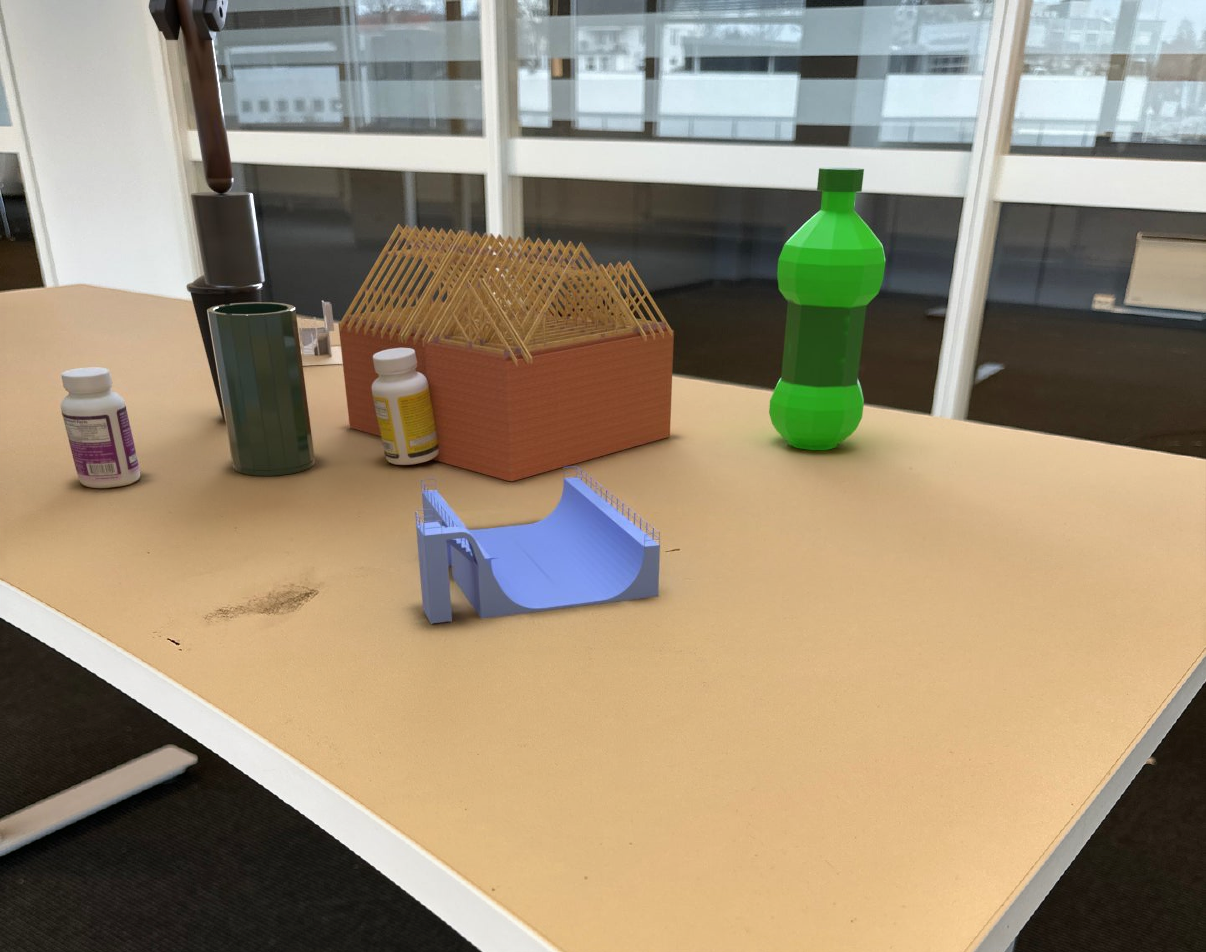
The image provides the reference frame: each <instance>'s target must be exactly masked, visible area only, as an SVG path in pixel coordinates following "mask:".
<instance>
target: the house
mask: <svg viewBox="0 0 1206 952" xmlns="http://www.w3.org/2000/svg"><path fill="white" fill-rule="evenodd" d="M399 233H400V236H399V237H398V239H397V241H396V243H394V241H395V239H396V238H397V236H398V234H399ZM443 238H444V239H443ZM404 239H405V240H406V241H405V242H404V244H403V245H402V243H403V241H404ZM476 241H477V242H476ZM393 243H394V245H393ZM392 245H393V247H392ZM401 245H402V247H401V249H400V250H399V248H400V246H401ZM509 245H510V246H511V247H510V246H509ZM409 246H411V248H410V249H408V248H409ZM519 246H520V247H521V248H520V247H519ZM391 247H392V248H391ZM489 247H490V248H489ZM390 248H391V251H389V250H390ZM529 248H530V249H529ZM538 248H540V250H541V251H539V249H538ZM549 249H550V251H551V253H550V252H549ZM559 250H560V251H561V254H560V252H559ZM570 251H571V253H572V255H571V254H570V253H569V252H570ZM470 252H471V253H470ZM494 253H495V254H494ZM515 253H516V254H515ZM581 253H582V254H583V256H584V257H585V259H586V260H587V262H588V263H589V264H590V268H589V266H588V265H587V263H586V262H585V261H584V258H583V257H582V256H581ZM525 254H526V255H525ZM386 255H387V257H386ZM395 256H396V258H395V259H394V261H393V263H392V264H391V266H390V268H389V270H388V271H387V272H386V275H385V276H384V278H383V279H382V276H383V275H384V273H385V271H386V270H387V268H388V266H389V265H390V263H391V261H392V260H393V258H394V257H395ZM526 256H527V257H526ZM535 256H536V257H537V258H536V257H535ZM385 257H386V259H385V261H384V263H382V262H383V259H384V258H385ZM404 257H405V258H404ZM544 257H546V258H547V260H546V259H545V258H544ZM402 258H404V259H403V261H402V263H401V265H400V266H399V268H398V269H397V271H396V273H395V275H394V276H393V278H392V280H391V282H390V283H389V285H388V286H387V288H386V290H385V291H384V288H385V287H386V285H387V284H388V282H389V280H390V279H391V277H392V275H393V273H394V272H395V270H396V268H397V267H398V265H399V263H400V261H401V260H402ZM411 258H413V259H412V262H411V263H410V265H409V267H408V269H407V270H406V272H405V274H404V275H403V277H402V279H401V280H400V282H399V284H398V286H397V287H396V289H395V290H394V292H393V289H394V287H395V285H396V284H397V282H398V280H399V279H400V277H401V275H402V274H403V272H404V271H405V268H406V267H407V265H408V263H409V261H410V260H411ZM555 258H556V259H557V262H556V260H555ZM421 259H422V260H421ZM420 260H421V262H420V264H419V266H418V268H417V269H416V270H415V273H414V274H413V276H412V278H411V279H410V281H409V282H408V279H409V277H410V276H411V274H412V272H413V270H414V269H415V267H416V265H417V264H418V262H419V261H420ZM565 260H567V261H568V263H566V261H565ZM576 260H577V262H578V263H579V265H580V266H581V267H582V268H581V269H580V268H579V266H578V264H577V263H576ZM521 261H522V262H521ZM531 262H532V263H531ZM381 264H382V266H381V268H380V270H379V271H378V272H377V274H376V276H375V278H374V279H373V277H374V275H375V273H376V271H377V270H378V268H379V266H380V265H381ZM425 266H428V267H427V269H426V270H425V272H424V274H423V275H422V277H421V279H420V280H419V282H418V284H417V285H416V287H415V289H414V291H413V292H412V294H411V296H410V292H411V290H412V288H413V287H414V285H415V283H416V282H417V280H418V278H419V276H420V275H421V273H422V271H423V270H424V268H425ZM476 270H477V271H476ZM484 270H485V271H486V272H485V271H484ZM630 271H631V273H632V275H633V277H634V278H635V280H636V281H637V283H638V284H639V286H640V288H641V289H642V291H643V293H644V294H643V295H641V293H640V291H639V290H638V289H637V287H636V285H635V284H634V282H633V280H632V279H631V277H630ZM431 273H433V275H432V277H431V278H430V280H429V281H428V283H427V285H426V287H425V288H424V290H423V292H422V293H421V295H420V297H419V293H420V291H421V289H422V288H423V286H424V285H425V283H426V281H427V279H428V277H429V276H430V274H431ZM538 273H539V274H538ZM558 276H559V277H558ZM622 276H624V277H625V280H626V285H625V283H624V282H623V280H622ZM533 277H534V278H535V279H534V278H533ZM597 277H598V279H597ZM613 277H614V279H612V278H613ZM588 278H589V279H588ZM372 279H373V281H372V283H371V285H370V286H369V288H368V285H369V284H370V282H371V280H372ZM381 279H382V282H381V283H380V285H379V286H378V288H377V290H376V287H377V285H378V283H379V282H380V280H381ZM543 279H544V280H545V282H544V281H543ZM553 281H554V282H553ZM407 282H408V285H407V286H406V288H405V290H404V292H403V293H402V294H401V291H402V289H403V288H404V286H405V284H406V283H407ZM554 283H555V284H554ZM563 283H564V284H565V286H566V287H567V289H566V288H565V286H564V285H563ZM616 283H617V285H616ZM441 284H443V287H442V285H441ZM582 285H583V286H582ZM539 286H540V287H539ZM574 286H575V287H576V288H575V287H574ZM630 287H631V288H632V290H633V292H634V294H635V295H634V296H632V295H631V293H630ZM541 288H542V289H541ZM621 288H622V290H623V292H624V294H625V295H626V296H625V298H624V297H623V295H622V294H621ZM550 289H551V290H552V291H551V290H550ZM604 289H605V290H604ZM559 290H560V291H561V292H562V294H563V295H564V296H563V295H562V294H561V292H560V291H559ZM587 290H588V292H586V291H587ZM596 290H597V291H596ZM437 291H438V295H437V297H436V299H435V300H434V296H435V294H436V293H437ZM578 291H579V292H578ZM363 294H364V296H363V298H362V300H361V302H360V304H359V305H358V306H357V304H358V303H359V301H360V299H361V297H362V295H363ZM372 294H373V295H372ZM445 294H446V295H447V296H446V299H445V300H444V302H443V297H444V296H445ZM371 295H372V298H371V300H370V302H369V299H370V297H371ZM380 295H381V298H380V300H379V302H377V301H378V299H379V297H380ZM582 297H583V299H582ZM388 298H389V301H388V302H387V304H386V301H387V299H388ZM397 298H398V301H397V303H396V305H395V307H394V303H395V301H396V299H397ZM637 298H638V302H636V300H637ZM645 298H647V299H648V300H649V302H650V304H651V306H652V307H653V309H654V310H655V312H656V313H657V315H658V317H659V319H660V320H661V321H658V320H657V319H656V318H655V316H654V314H653V313H652V311H651V310H650V308H649V306H648V304H647V303H646V302H645ZM520 299H521V300H522V301H521V300H520ZM603 300H604V301H603ZM405 301H406V304H405V306H404V307H403V306H402V305H403V304H404V303H405ZM414 301H415V305H414V306H412V305H413V303H414ZM559 301H560V302H559ZM509 302H510V303H509ZM561 304H562V305H563V307H564V308H563V307H562V305H561ZM640 304H641V305H642V306H643V309H644V310H645V311H646V312H647V315H648V316H649V318H650V319H651V320H647V318H646V317H645V316H644V314H643V312H642V311H641V309H640V307H639V306H640ZM365 305H366V309H365V310H364V312H362V311H363V309H364V308H365ZM553 305H554V306H553ZM356 306H357V309H356V310H355V312H354V313H353V314H352V312H353V310H354V309H355V308H356ZM631 306H633V309H632V310H631V308H630V307H631ZM373 307H374V310H373V311H372V309H373ZM526 307H527V308H528V309H527V308H526ZM598 307H599V308H598ZM381 309H382V310H381ZM581 309H582V310H581ZM361 312H362V313H361ZM635 312H637V315H639V317H640V318H636V317H635V315H634V313H635ZM560 314H561V316H560ZM612 314H613V315H612ZM338 333H339V342H340V346H341V352H342V361H343V364H342V369H343V378H344V387H345V396H346V407H347V413H348V414H347V415H348V424H349V428H350V429H353V430H356V431H360V432H364V433H368V434H371V435H375V436H378V437H381V433H380V429H379V424H378V419H377V414H376V409H375V404H374V400H373V395H372V384H373V382H374V381H375V380H376V379H377V378H378V377H379V374H378V373H376V371H375V368H374V362H373V355H374V354H376V353H378V352H380V351H383V350H388V349H394V348H411V349H414V350H415V354H416V359H417V367H416V368H415V369H416V372H419V373H421V374H423V375H424V376H425V377H426V379H427V381H428V385H429V390H430V396H431V402H432V408H433V415H434V421H435V428H436V435H437V442H438V450H439V453H438V455H437V456H436V457H435V458H433V459H432V460H433V461H436V462H440V463H444V464H447V465H450V466H455V467H457V468H461V469H464V470H469V471H472V472H475V473H479V474H483V475H486V476H489V477H493V478H498V479H501V480H504V481H507V482H514V481H518V480H522V479H525V478H528V477H529V478H530V477H532V476H536V475H539V474H543V473H546V472H549V471H553V470H557V469H560V468H564V467H569V466H571V465H574V464H578V463H581V462H585V461H589V460H593V459H596V458H599V457H603V456H606V455H610V454H614V453H616V452H617V453H618V452H620V451H624V450H628V449H631V448H635V447H638V446H642V445H645V444H648V443H652V442H656V441H660V440H662V439H663V440H664V439H666V438H670V437H671V417H672V396H673V395H672V392H673V391H672V390H673V368H674V367H673V365H674V364H673V363H674V338H675V330H674V329H672V328H671V327H670V325H669V323H668V322H667V320H666V318H665V317H664V315H663V314H662V311H661V310H660V309H659V307H658V305H657V304H656V302H655V301H654V298H653V297H652V295H651V294H650V292H649V291H648V289H647V288H646V286H645V284H644V283H643V281H642V279H641V278H640V276H639V275H638V273H637V271H636V270H635V267H633V265H632V263H631V262H630V260H627V261H626V263H625V264H624V265H623V264H622V263H621V262H620V261H618V262H617V264H616V265H615V266H614V265H613V264H612V262H609V264H608V265H607V266H606V268H605V266H604V264H603V263H600V264H599V265H598V264H596V262H595V261H594V259H593V257H592V255H591V254H590V253H589V250H588V249H587V248H586V247H585V245H584V244H583V242H582V241H580V242H579V244H578V246H577V247H575V245H574V243H573V242H572V241H571V240H569V242H568V243H567V245H566V247H565V245H564V244H563V242H562V241H561V239H558V241H557V243H556V244H555V245H554V244H553V242H552V240H551V239H550V238H548V239H547V241H546V242H545V244H544V243H543V241H542V240H541V238H540V237H537V239H536V241H535V243H534V241H532V239H531V238H530V236H528V237H526V239H525V241H524V239H522V237H521V236H520V235H518V236H517V238H516V240H514V239H513V237H512V236H511V235H510V234H508V236H507V237H506V238H505V239H504V238H503V236H502V235H501V233H498V235H497V237H496V236H494V234H493V233H492V232H490V233H489V235H488V233H487V232H484V233H483V235H482V237H481V236H480V234H479V233H478V232H477V231H474V233H473V235H472V236H471V234H470V232H469V231H468V230H464V229H463V230H461V229H459V230H458V231H457V233H456V234H455V232H454V231H453V229H452V228H450V229H449V231H448V232H446V231H445V230H444V229H443V227H441V228H440V230H439V232H438V231H437V230H436V229H435V227H431V229H430V231H429V230H428V229H427V227H426V226H423V227H422V229H419V228H418V226H417V225H414V227H413V228H411V227H410V226H409V225H408V224H406V225H405V227H404V228H403V226H401V224H399V223H398V224H397V226H396V227H395V229H394V230H393V232H392V234H391V236H390V237H389V238H388V241H387V242H386V243H385V246H384V247H383V249H382V251H381V252H380V254H379V256H378V257H377V259H376V261H375V263H374V265H373V266H372V268H371V269H370V271H369V273H368V275H367V276H366V278H365V280H364V281H363V283H362V285H361V286H360V288H359V290H358V291H357V293H356V295H355V296H354V299H353V300H352V301H351V303H350V305H349V307H348V308H347V310H346V312H345V314H344V315H343V317H342V319H341V320H340V322H339V323H338Z"/></svg>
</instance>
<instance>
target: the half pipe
mask: <svg viewBox="0 0 1206 952" xmlns="http://www.w3.org/2000/svg"><path fill="white" fill-rule="evenodd" d="M565 468H566V469H567V466H564V467H563V469H565ZM571 468H577V469H579V470H580V473H579V472H578V471H576V474H579V475H580V478H579V477H578V476H571V477H563V485H562V486H563V487H562V492H561V496H560V498H559V501H558V503H557V505H556V506H555V508H554V509H553V510H552V511H551V513H549V514H548V515H547V516H546V517H544V518H543V519H541V520H539V521H536V522H532V523H528V524H518V525H517V524H516V525H509V526H507V525H506V526H499V527H488V528H481V529H480V528H479V529H469V528H468V527H467V526H466V525H465V524H464V522H463V521H462V520H461V518H460V517H459V516H458V515H457V513H456V512H455V511H454V509H453V508H452V507H451V506H450V505H449V503H447V501H446V500H445V499H444V497H443V496H442V495H441V494H440V492H439V491H438V490H437V489H433V490H432V489H431V490H430V489H429V488H428V486H430V484H425V483H424V482H423V479H420V485H421V486H420V487H421V489H422V490H421V503H422V509H418V510H416V509H415V511H414V513H415V529H416V541H417V552H418V553H417V555H418V566H419V577H420V590H421V602H422V611H423V613H424V614H425V616H426V618H427V619H428V621H429V622H430V625H433V624H438V623H447V622H450V623H453V615H452V601H451V600H452V599H451V586H450V585H451V584H450V571H449V567H451V574H452V579H453V581H454V582H455V583H456V585H457V586H458V587H459V589H460V591H461V592H462V593H463V595H464V596H465V598H466V599H467V601H468V602H469V603H470V606H472V608H473V609H474V611H475V612H476V614H477V615H478V617H479V618H480V619H481V620H483V619H489V618H490V619H492V618H498V617H499V618H500V617H507V616H515V615H521V614H531V613H538V612H546V611H554V610H555V611H556V610H563V609H570V608H577V607H585V606H591V605H593V606H594V605H600V604H601V605H602V604H607V603H608V604H609V603H616V602H624V601H632V600H639V599H647V598H655V597H659V590H660V589H659V587H660V561H661V559H660V557H661V556H660V554H661V544H660V540H661V532H659V531H658V530H657V529H656V528H655V527H653V526H652V525H651V524H650V523H648V522H647V521H646V520H645V519H643V517H641V516H640V515H638V514H637V513H636V512H635V511H633V510H632V509H631V508H630V507H628V505H626V504H625V503H624V502H623V501H621V500H620V499H619V498H618V497H616V496H615V495H614V494H612V493H611V492H610V491H609V490H607V488H605V487H604V486H602V485H601V484H600V483H599V482H597V481H596V480H595V479H593V478H592V476H591V475H589V474H587V473H586V472H585V470H582V469H581V468H580V467H578V466H577V465H574V466H571ZM569 473H572V471H568V472H565V474H569ZM582 473H584V474H585V475H587V476H588V477H589V478H590V479H592V481H594V482H595V483H597V484H598V485H599V486H600V488H598V487H597V486H595V485H594V484H593V482H590V481H589V480H588V478H587V477H584V476H583V474H582ZM583 479H585V482H584V481H583ZM433 480H434V486H435V488H437V483H436V480H435V478H429V479H427V481H433ZM587 482H588V483H590V485H591V486H593V487H595V489H596V490H598V491H599V492H600V494H599V493H598V492H597V491H596V490H594V489H593V488H592V487H591V486H589V485H588V484H587ZM602 489H604V490H605V493H604V492H603V490H602ZM608 493H609V494H610V495H611V496H610V497H609V496H608ZM602 494H603V495H604V496H605V498H604V497H603V495H602ZM613 497H614V498H615V499H616V502H615V501H614V500H613ZM608 499H609V500H610V502H609V501H608ZM619 502H620V503H621V504H622V506H620V505H619ZM613 503H614V504H615V505H616V507H615V506H614V505H613ZM624 506H625V507H626V508H627V511H626V510H625V509H624ZM618 508H621V511H620V510H619V509H618ZM630 511H631V512H633V516H632V515H631V514H630ZM418 512H422V517H421V516H420V515H419V514H418ZM624 512H625V513H626V514H627V516H625V515H624ZM636 516H638V517H639V521H640V522H639V521H638V520H637V519H636ZM630 517H631V518H633V521H631V519H630ZM422 518H423V519H422ZM642 520H643V521H644V522H645V523H646V525H645V526H644V525H643V524H642ZM636 521H637V522H638V523H639V526H638V525H637V524H636ZM648 526H650V527H651V528H652V531H651V530H649V529H648ZM642 527H644V528H645V530H646V531H644V530H643V529H642ZM648 531H649V532H650V534H648ZM655 531H657V532H658V534H659V535H658V536H657V535H656V534H657V532H655ZM650 535H652V536H650ZM654 536H655V537H656V538H655V537H654ZM657 541H658V542H657ZM433 626H434V625H433Z"/></svg>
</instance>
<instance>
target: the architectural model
mask: <svg viewBox="0 0 1206 952" xmlns="http://www.w3.org/2000/svg"><path fill="white" fill-rule="evenodd" d="M321 306H322V313H323V322H324V326H321V327H317V319H316V316H314V317H302V318H301V317H299V320H300V322H302V320H306V321H304V322H302V323H300V326H298V332H299V340H300V348H301V356H302V364H303V367H307V366H325V365H341V364H342V365H343V361H342V352H341V345H336V346H335V345H334V346H332V345H331V337H330V332H335V325H334V324H335V323H334V316H333V314H334V313H333V307H332V303H331V302H330V301H324V300H321ZM312 321H313V323H314V325H313V326H311V327H303V326H305V325H307V324H308V323H310V322H312Z"/></svg>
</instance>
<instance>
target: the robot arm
mask: <svg viewBox="0 0 1206 952" xmlns="http://www.w3.org/2000/svg"><path fill="white" fill-rule="evenodd" d="M228 5H229V0H194V2H193V8H192V15H193V19H194V22H195V24H196V26H197V29H198V31H199V33H200V35H201V38H202V39H203V40H213V41H215V40H216V37H217V33H220V32H222V30H223V28H224V27H225V22H226V17H227V10H228ZM148 10H149V13H150V15H151V17H152V19H153V22H154V24H155V26H156V28H157V29H158V31H159V32H161V33H162V35H163V37H164V39H165V41H178V40H179V37H180V31H181V26H180V19H179V13H178V7H177V1H176V0H149V2H148Z"/></svg>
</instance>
